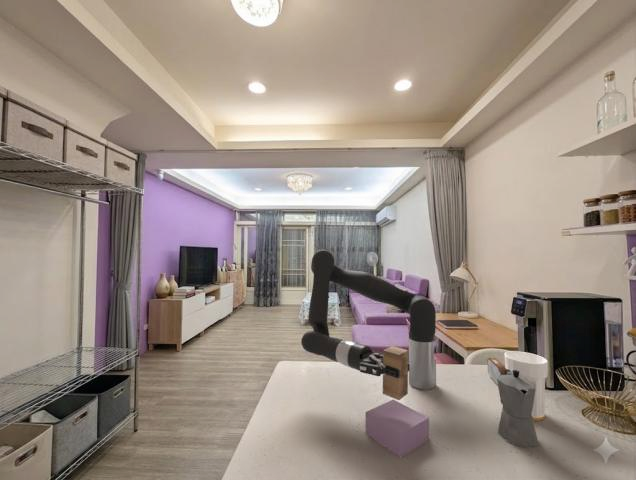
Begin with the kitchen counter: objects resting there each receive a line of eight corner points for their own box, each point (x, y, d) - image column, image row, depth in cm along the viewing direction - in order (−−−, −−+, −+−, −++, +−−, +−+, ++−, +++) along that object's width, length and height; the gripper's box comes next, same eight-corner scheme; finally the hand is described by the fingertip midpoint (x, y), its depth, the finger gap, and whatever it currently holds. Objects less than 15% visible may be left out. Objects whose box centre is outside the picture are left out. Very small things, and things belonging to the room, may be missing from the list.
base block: (393, 419, 88) (393, 399, 88) (428, 440, 79) (428, 417, 79) (365, 434, 81) (365, 412, 81) (401, 458, 71) (401, 433, 72)
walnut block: (391, 387, 85) (391, 346, 85) (407, 393, 81) (408, 350, 82) (382, 393, 81) (383, 350, 81) (399, 400, 77) (399, 354, 78)
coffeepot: (548, 456, 72) (546, 383, 73) (505, 448, 75) (503, 377, 76) (525, 422, 87) (523, 361, 88) (489, 416, 90) (488, 357, 90)
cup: (543, 408, 95) (542, 354, 96) (554, 426, 85) (552, 366, 85) (502, 400, 100) (501, 349, 100) (508, 417, 89) (507, 359, 90)
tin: (510, 392, 106) (510, 368, 106) (501, 391, 106) (500, 368, 107) (494, 375, 120) (493, 354, 121) (485, 374, 121) (485, 354, 121)
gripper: (339, 348, 86) (391, 364, 74) (366, 338, 96) (415, 350, 85) (339, 374, 86) (391, 394, 74) (366, 361, 96) (415, 376, 85)
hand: (404, 370), depth 80 cm, fingers closed on walnut block, 5 cm apart
